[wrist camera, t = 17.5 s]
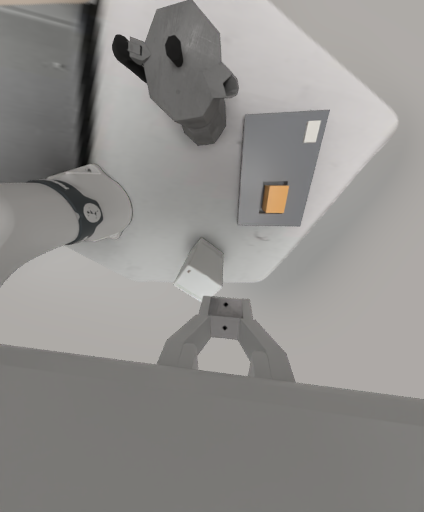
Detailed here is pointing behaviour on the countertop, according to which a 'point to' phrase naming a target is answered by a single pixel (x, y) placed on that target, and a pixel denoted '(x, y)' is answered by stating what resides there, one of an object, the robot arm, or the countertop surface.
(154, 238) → the countertop surface
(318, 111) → the socket plate
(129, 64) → the coffeepot
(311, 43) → the countertop surface
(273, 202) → the plug
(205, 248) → the skincare box
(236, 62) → the countertop surface
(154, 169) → the countertop surface
